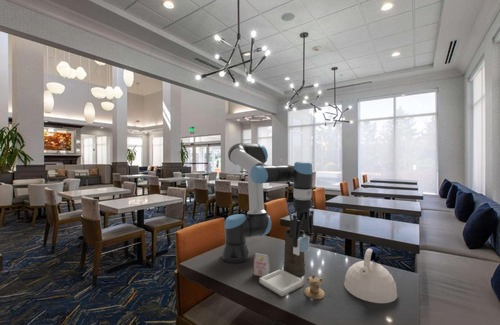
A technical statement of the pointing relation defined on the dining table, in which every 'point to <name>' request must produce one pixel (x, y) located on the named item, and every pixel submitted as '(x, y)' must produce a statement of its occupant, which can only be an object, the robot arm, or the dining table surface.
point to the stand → (314, 288)
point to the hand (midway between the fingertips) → (301, 252)
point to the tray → (281, 282)
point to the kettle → (370, 280)
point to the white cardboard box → (261, 265)
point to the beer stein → (293, 257)
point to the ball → (303, 244)
